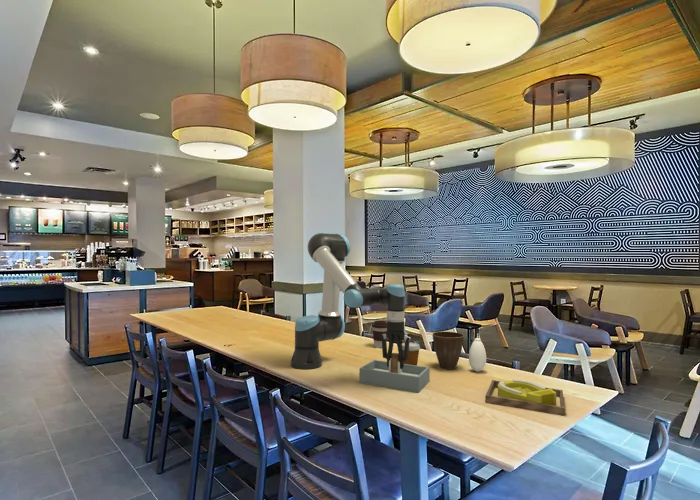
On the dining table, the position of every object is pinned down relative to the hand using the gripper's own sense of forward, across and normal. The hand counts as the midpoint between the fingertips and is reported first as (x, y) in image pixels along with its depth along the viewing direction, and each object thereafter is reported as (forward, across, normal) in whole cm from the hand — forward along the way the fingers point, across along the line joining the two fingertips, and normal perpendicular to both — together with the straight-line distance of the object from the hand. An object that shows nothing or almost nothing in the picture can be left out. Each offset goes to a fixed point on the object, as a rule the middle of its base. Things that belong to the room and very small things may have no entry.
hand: (395, 375), depth 172 cm
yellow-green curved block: (+3, +51, +4) cm, 51 cm away
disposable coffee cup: (+3, 0, +21) cm, 21 cm away
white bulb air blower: (+3, +29, +34) cm, 45 cm away
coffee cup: (+3, -30, +58) cm, 65 cm away
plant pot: (+3, +15, +34) cm, 37 cm away
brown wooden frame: (+3, +51, +4) cm, 51 cm away
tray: (+3, 0, 0) cm, 3 cm away
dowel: (+3, 0, 0) cm, 3 cm away
